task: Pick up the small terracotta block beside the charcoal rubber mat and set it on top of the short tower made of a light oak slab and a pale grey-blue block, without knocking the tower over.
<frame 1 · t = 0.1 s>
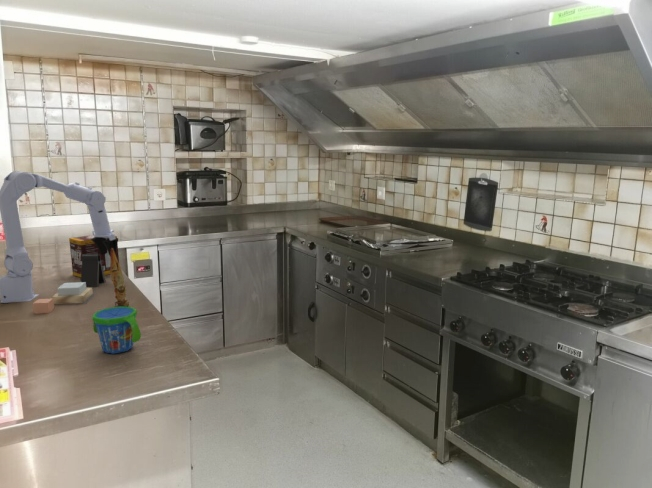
hand: (108, 255, 202), 11 cm above the worktop, tool pointing down, fingers open, 7 cm apart
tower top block: (72, 292, 179), point 3 cm above the worktop, touching oak slab
rubber mat: (73, 300, 180), on the worktop
phone stand: (93, 285, 200), on the worktop
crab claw: (121, 306, 174), on the worktop
terracotta block: (44, 312, 168), on the worktop
oak slab: (73, 299, 180), resting on rubber mat, touching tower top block
snack cup: (118, 349, 138), on the worktop
supplement box: (96, 274, 217), on the worktop
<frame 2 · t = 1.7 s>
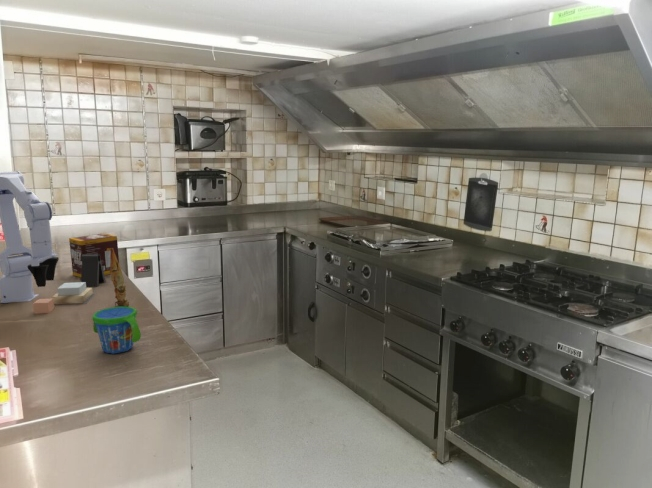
hand: (45, 283, 166), 9 cm above the worktop, tool pointing down, fingers open, 7 cm apart
nothing on the worktop moved.
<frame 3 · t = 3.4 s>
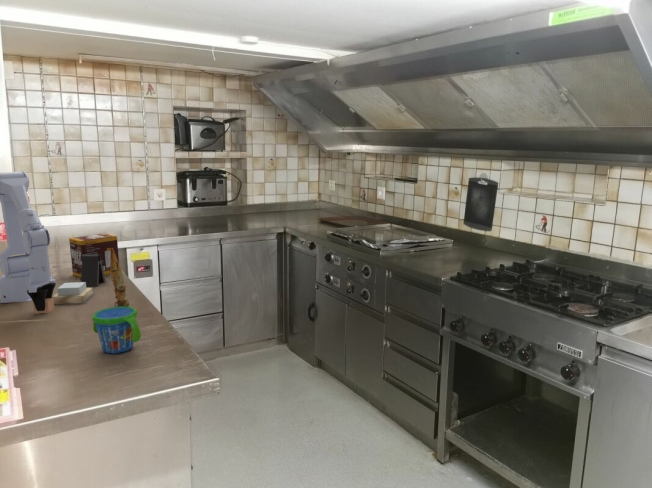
hand: (43, 308, 167), 1 cm above the worktop, tool pointing down, fingers closed on terracotta block, 4 cm apart
terracotta block: (44, 312, 168), on the worktop, touching gripper
everything else where it was.
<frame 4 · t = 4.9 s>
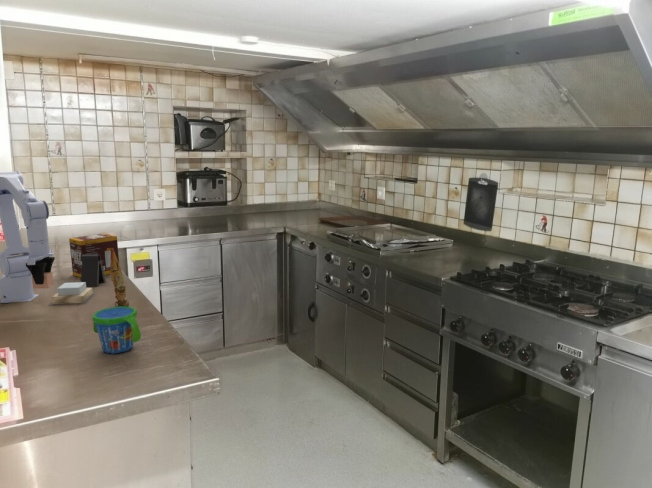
hand: (42, 282, 166), 10 cm above the worktop, tool pointing down, fingers closed on terracotta block, 4 cm apart
terracotta block: (43, 286, 167), point 8 cm above the worktop, touching gripper
everything else where it was.
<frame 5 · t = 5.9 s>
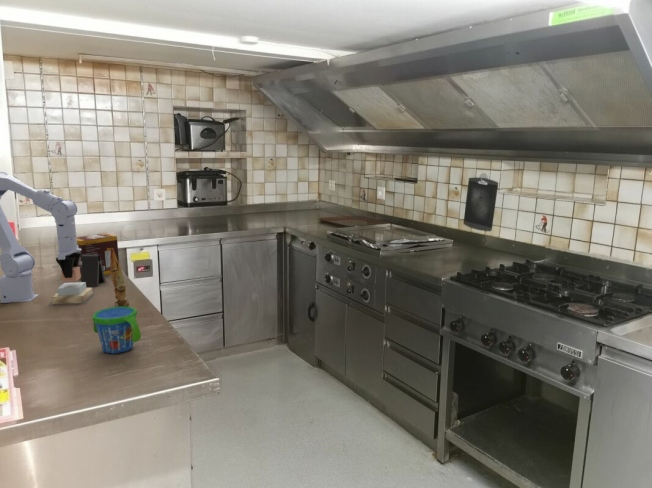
hand: (70, 275, 178), 9 cm above the worktop, tool pointing down, fingers closed on terracotta block, 4 cm apart
terracotta block: (71, 279, 179), point 7 cm above the worktop, touching gripper
everything else where it was.
when the fingers open (8 cm above the worktop, at t = 6.5 s): terracotta block stays where it is, resting on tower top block.
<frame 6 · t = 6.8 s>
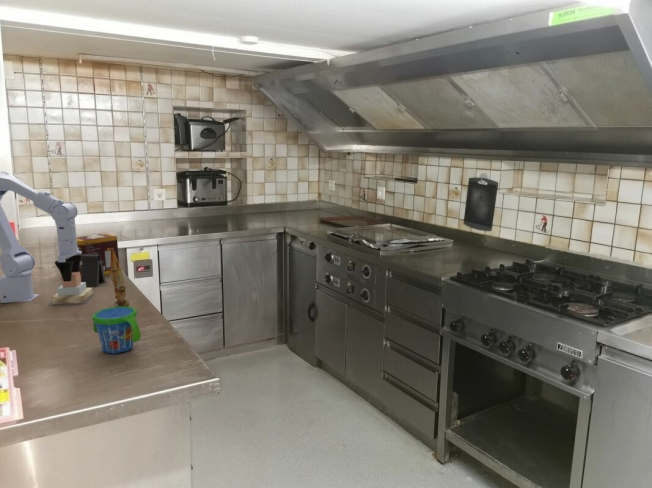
hand: (71, 278, 178), 8 cm above the worktop, tool pointing down, fingers open, 7 cm apart
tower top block: (72, 292, 179), point 3 cm above the worktop, touching oak slab, terracotta block
terracotta block: (72, 285, 179), point 5 cm above the worktop, touching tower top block
everything else where it was.
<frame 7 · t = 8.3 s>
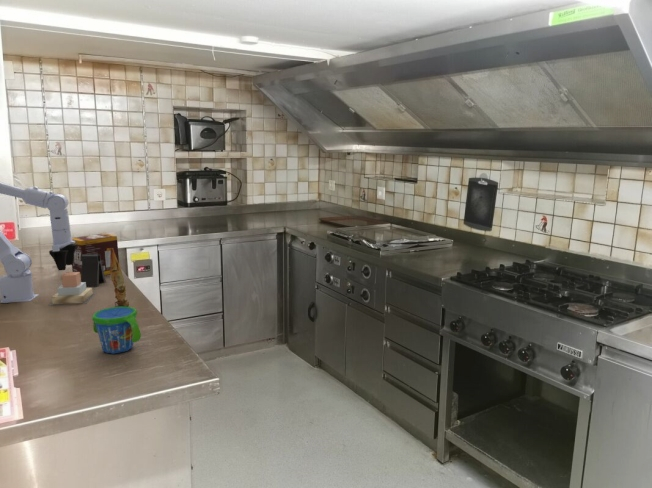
hand: (65, 267, 183), 10 cm above the worktop, tool pointing down, fingers open, 7 cm apart
nothing on the worktop moved.
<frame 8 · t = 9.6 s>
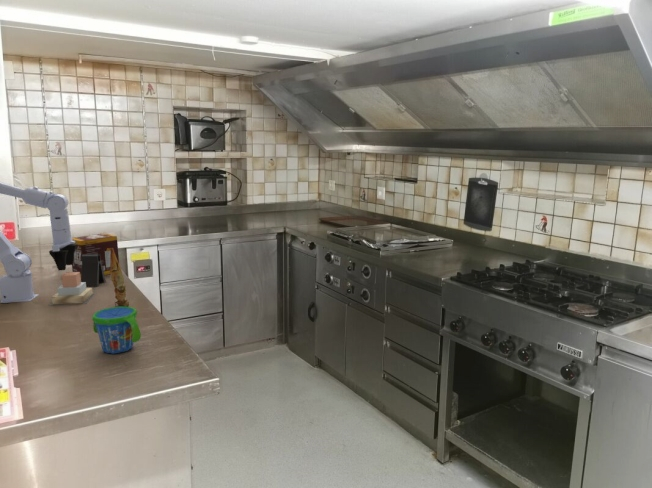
hand: (65, 267, 183), 10 cm above the worktop, tool pointing down, fingers open, 7 cm apart
nothing on the worktop moved.
at the end: terracotta block 0.1 cm off-centre on the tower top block, point 2.5 cm above the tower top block's base; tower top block moved 0.0 cm from its start; the gripper is holding nothing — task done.
